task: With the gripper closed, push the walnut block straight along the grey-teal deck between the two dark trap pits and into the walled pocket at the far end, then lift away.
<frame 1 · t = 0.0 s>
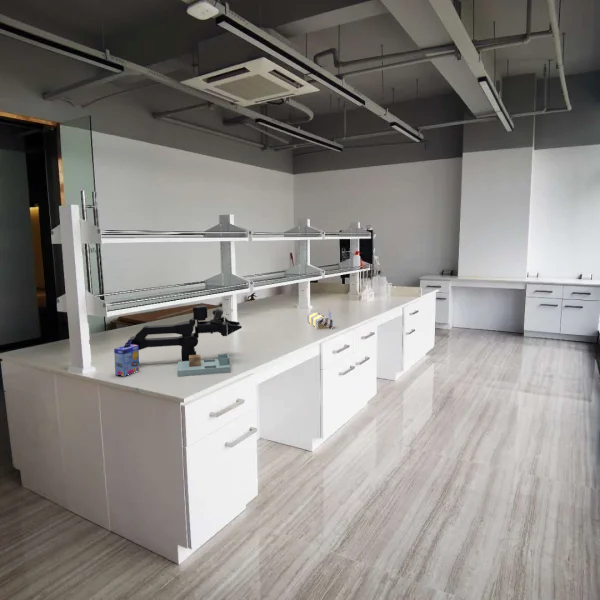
hand: (240, 325, 220), 17 cm above the table, tool horizontal, fingers open, 9 cm apart
ink cartridge box: (127, 374, 199), on the table
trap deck: (204, 369, 204), on the table
walnut block: (195, 364, 203), point 2 cm above the table, touching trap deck
diorama: (319, 326, 301), on the table
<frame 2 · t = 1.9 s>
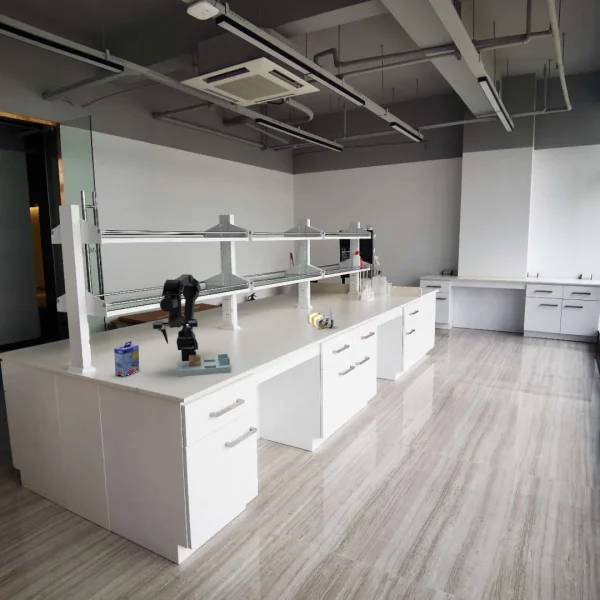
hand: (176, 343, 199), 13 cm above the table, tool pointing down, fingers open, 7 cm apart
nothing on the table moved.
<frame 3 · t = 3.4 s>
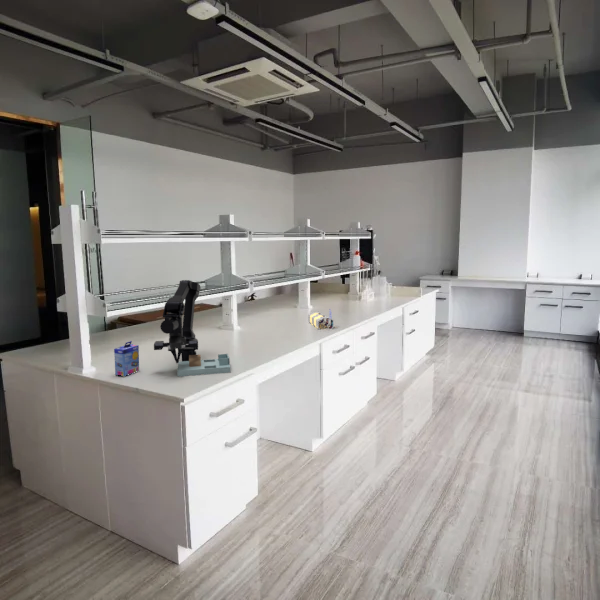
hand: (177, 363, 201), 4 cm above the table, tool pointing down, fingers closed
nothing on the table moved.
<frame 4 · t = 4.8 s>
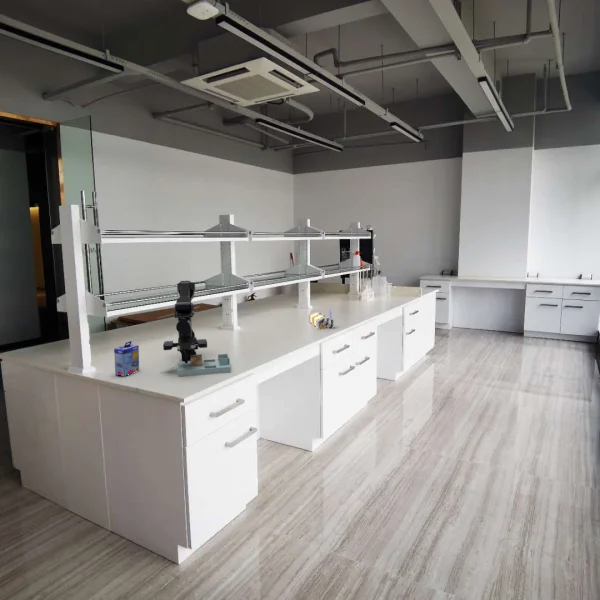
hand: (186, 363, 202), 4 cm above the table, tool pointing down, fingers closed
walnut block: (196, 364, 203), point 3 cm above the table, touching gripper, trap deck
everything else where it was.
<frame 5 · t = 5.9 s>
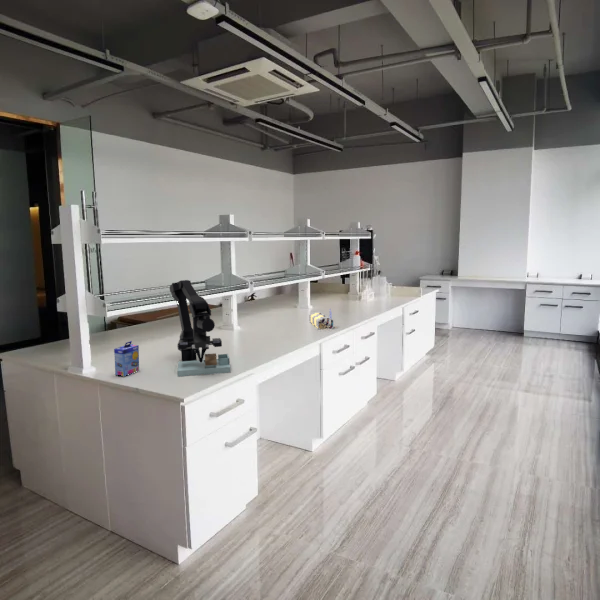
hand: (201, 362, 203), 4 cm above the table, tool pointing down, fingers closed
walnut block: (210, 363, 204), point 3 cm above the table, touching gripper
everything else where it was.
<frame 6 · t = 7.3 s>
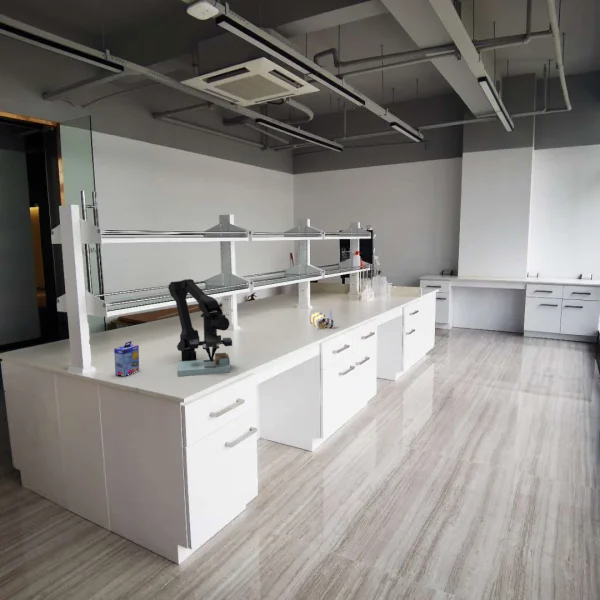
hand: (211, 361, 204), 4 cm above the table, tool pointing down, fingers closed
walnut block: (221, 362, 205), point 2 cm above the table, touching gripper, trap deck
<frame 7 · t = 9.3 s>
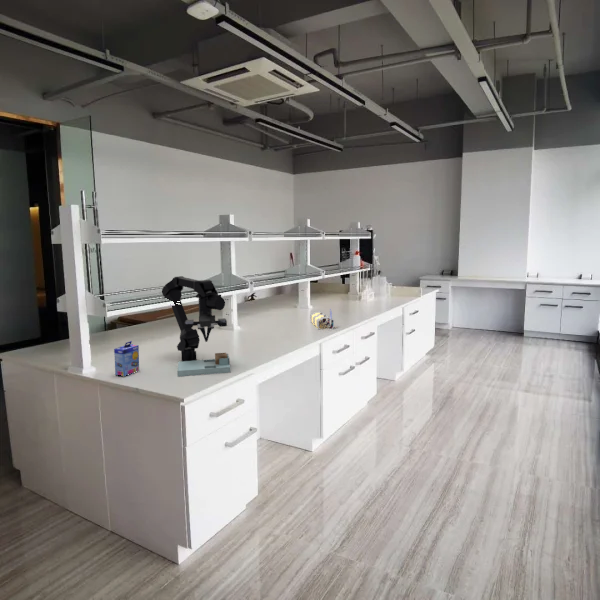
hand: (206, 341, 207), 12 cm above the table, tool pointing down, fingers closed
walnut block: (221, 362, 205), point 2 cm above the table, touching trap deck
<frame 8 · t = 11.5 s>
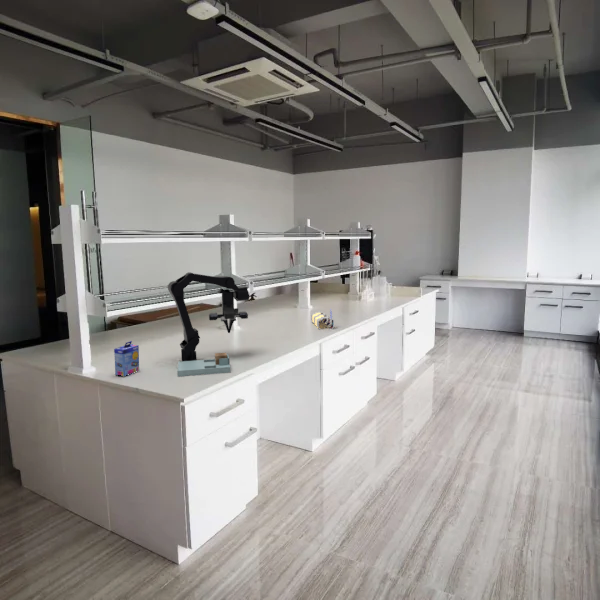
hand: (228, 332, 224), 12 cm above the table, tool pointing down, fingers closed
at the end: walnut block 0.3 cm from the target spot on the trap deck, point 2.5 cm above the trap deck's base; walnut block tilted 0° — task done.
